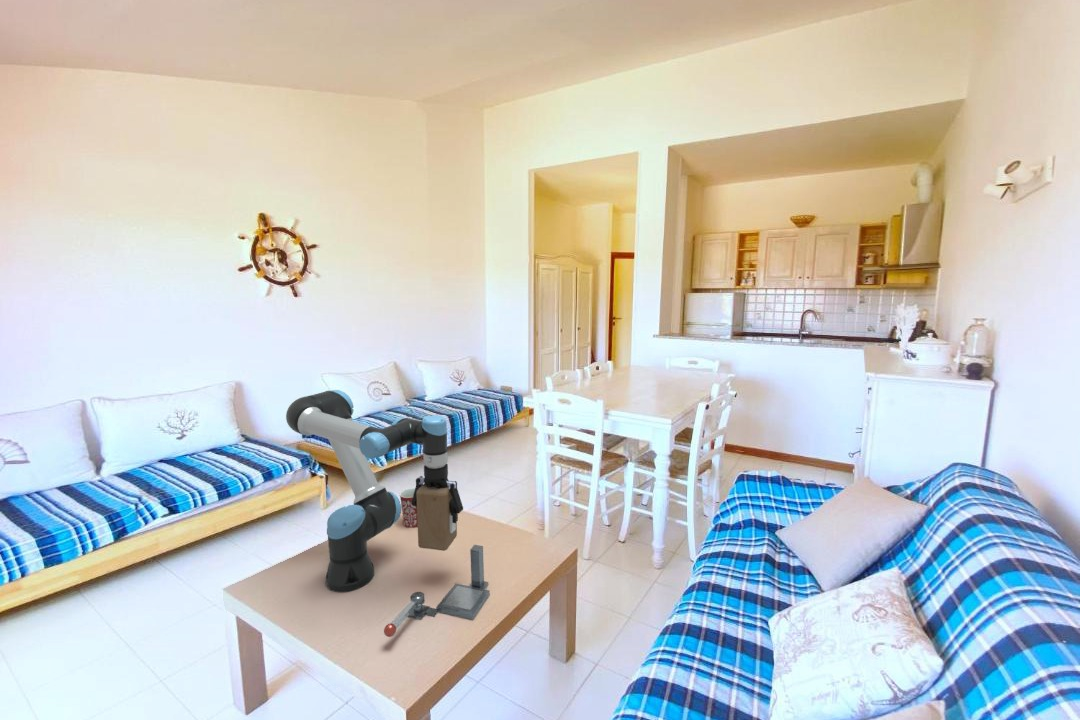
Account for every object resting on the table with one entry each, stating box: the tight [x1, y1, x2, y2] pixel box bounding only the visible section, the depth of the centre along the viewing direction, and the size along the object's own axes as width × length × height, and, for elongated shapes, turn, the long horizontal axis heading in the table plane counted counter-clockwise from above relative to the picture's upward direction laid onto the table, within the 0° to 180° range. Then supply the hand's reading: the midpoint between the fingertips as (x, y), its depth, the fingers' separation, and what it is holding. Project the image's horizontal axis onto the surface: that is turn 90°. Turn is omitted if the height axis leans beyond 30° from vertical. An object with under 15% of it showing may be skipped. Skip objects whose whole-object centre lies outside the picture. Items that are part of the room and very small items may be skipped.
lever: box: [383, 591, 425, 638], centre depth 136 cm, size 4×17×3 cm, turn 162°
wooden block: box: [416, 480, 458, 552], centre depth 156 cm, size 10×10×20 cm
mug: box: [399, 487, 418, 529], centre depth 194 cm, size 13×9×14 cm
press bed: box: [407, 544, 491, 621], centre depth 147 cm, size 20×21×14 cm
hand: (437, 528), depth 157 cm, fingers closed on wooden block, 10 cm apart
